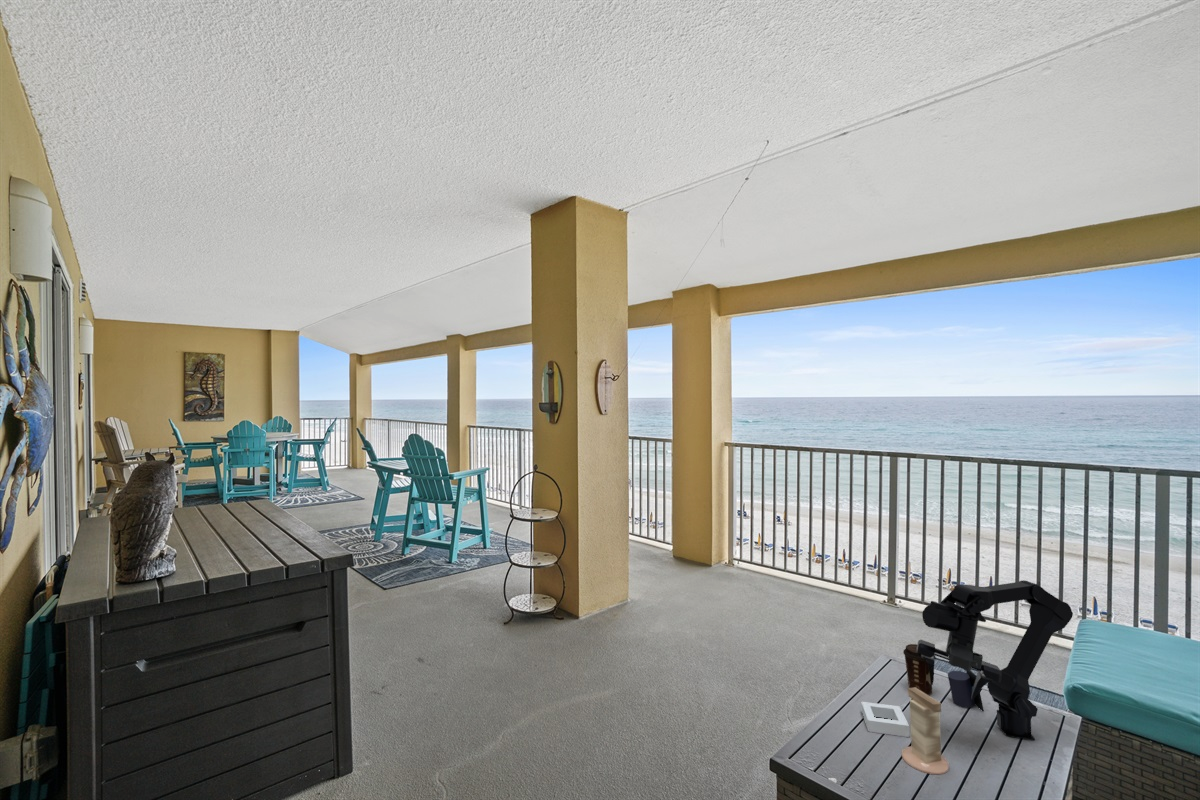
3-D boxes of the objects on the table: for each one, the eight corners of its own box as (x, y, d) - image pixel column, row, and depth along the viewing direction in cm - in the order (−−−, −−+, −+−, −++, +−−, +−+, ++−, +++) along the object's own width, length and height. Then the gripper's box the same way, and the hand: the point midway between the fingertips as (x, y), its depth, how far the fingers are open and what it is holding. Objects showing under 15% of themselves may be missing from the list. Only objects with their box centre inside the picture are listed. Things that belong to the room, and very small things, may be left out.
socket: (899, 717, 151) (899, 706, 151) (909, 737, 142) (909, 725, 142) (861, 712, 154) (861, 701, 154) (868, 731, 145) (868, 720, 145)
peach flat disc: (941, 752, 135) (941, 749, 135) (955, 777, 126) (955, 775, 126) (897, 745, 138) (897, 743, 138) (907, 770, 129) (907, 767, 129)
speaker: (981, 701, 158) (975, 666, 159) (984, 712, 153) (978, 676, 154) (951, 698, 162) (945, 664, 162) (953, 708, 157) (947, 673, 157)
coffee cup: (933, 686, 168) (931, 644, 169) (940, 699, 160) (938, 655, 161) (902, 682, 171) (900, 641, 172) (907, 695, 163) (906, 652, 164)
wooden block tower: (921, 745, 137) (919, 686, 138) (947, 765, 129) (944, 702, 130) (906, 748, 136) (904, 688, 137) (931, 767, 128) (929, 705, 129)
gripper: (923, 626, 141) (912, 685, 140) (1010, 655, 131) (998, 718, 130) (922, 618, 150) (911, 673, 149) (1003, 645, 141) (992, 703, 140)
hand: (951, 691), depth 142 cm, fingers open, 9 cm apart
